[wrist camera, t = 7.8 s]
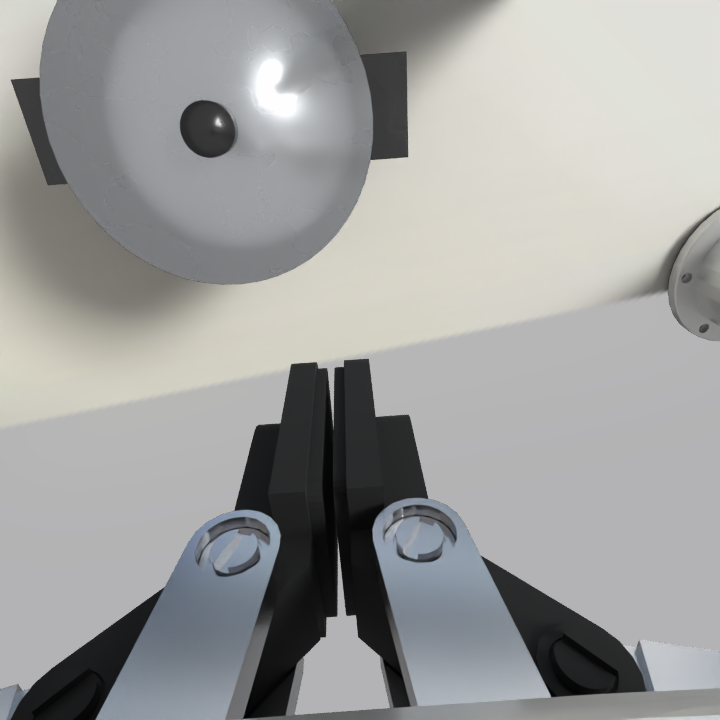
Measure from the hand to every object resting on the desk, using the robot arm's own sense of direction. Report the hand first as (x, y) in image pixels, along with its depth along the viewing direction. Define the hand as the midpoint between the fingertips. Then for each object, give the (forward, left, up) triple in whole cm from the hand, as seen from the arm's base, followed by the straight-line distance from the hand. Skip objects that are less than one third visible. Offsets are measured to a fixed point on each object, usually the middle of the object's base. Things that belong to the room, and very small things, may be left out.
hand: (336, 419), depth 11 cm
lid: (+5, -5, -19) cm, 20 cm away
